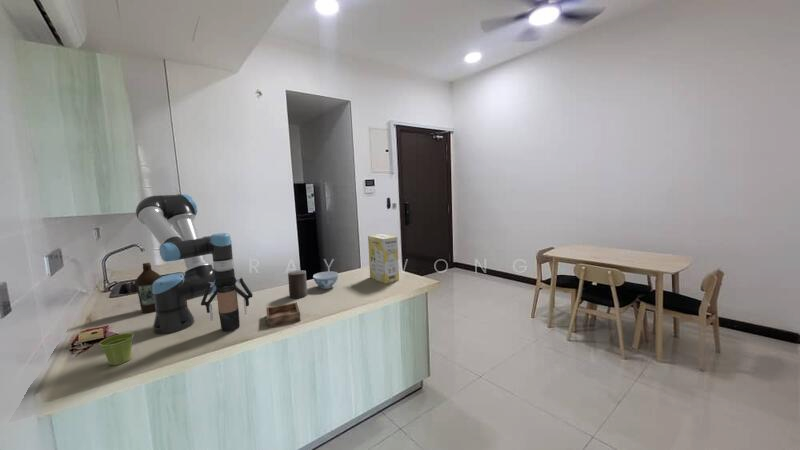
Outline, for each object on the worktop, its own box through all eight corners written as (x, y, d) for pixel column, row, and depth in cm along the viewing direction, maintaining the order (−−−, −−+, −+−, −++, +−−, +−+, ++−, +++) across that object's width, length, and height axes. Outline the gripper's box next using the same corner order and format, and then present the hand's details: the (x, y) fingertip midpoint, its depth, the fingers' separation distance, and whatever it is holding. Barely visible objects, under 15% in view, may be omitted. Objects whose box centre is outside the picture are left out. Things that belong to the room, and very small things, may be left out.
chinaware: (321, 293, 180) (320, 280, 179) (309, 287, 191) (308, 275, 190) (343, 286, 190) (342, 274, 189) (331, 281, 201) (330, 270, 200)
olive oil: (143, 308, 167) (136, 262, 164) (167, 304, 171) (161, 259, 168) (137, 315, 157) (130, 267, 154) (163, 310, 162) (156, 263, 159)
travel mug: (244, 326, 140) (239, 283, 137) (227, 333, 133) (222, 288, 130) (234, 323, 143) (229, 281, 141) (217, 330, 137) (212, 286, 134)
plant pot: (106, 359, 116) (103, 337, 115) (139, 351, 121) (135, 330, 120) (99, 371, 108) (95, 348, 107) (134, 362, 113) (131, 340, 112)
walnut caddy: (267, 327, 138) (266, 318, 137) (267, 315, 151) (266, 307, 150) (300, 320, 143) (299, 312, 143) (297, 310, 156) (296, 302, 156)
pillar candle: (293, 300, 170) (291, 273, 169) (287, 295, 178) (285, 269, 176) (310, 295, 177) (308, 270, 175) (303, 291, 184) (301, 266, 182)
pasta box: (398, 280, 199) (397, 236, 196) (385, 283, 193) (383, 239, 189) (383, 274, 214) (381, 233, 210) (370, 277, 207) (367, 235, 204)
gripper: (188, 275, 126) (195, 325, 129) (255, 267, 136) (259, 313, 139) (192, 271, 133) (198, 318, 136) (255, 263, 143) (259, 307, 146)
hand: (229, 316), depth 138 cm, fingers open, 12 cm apart
